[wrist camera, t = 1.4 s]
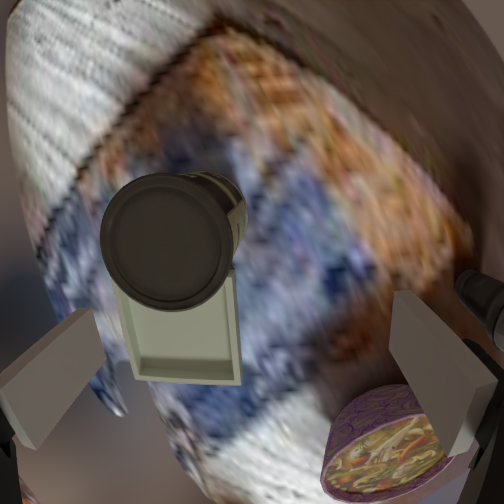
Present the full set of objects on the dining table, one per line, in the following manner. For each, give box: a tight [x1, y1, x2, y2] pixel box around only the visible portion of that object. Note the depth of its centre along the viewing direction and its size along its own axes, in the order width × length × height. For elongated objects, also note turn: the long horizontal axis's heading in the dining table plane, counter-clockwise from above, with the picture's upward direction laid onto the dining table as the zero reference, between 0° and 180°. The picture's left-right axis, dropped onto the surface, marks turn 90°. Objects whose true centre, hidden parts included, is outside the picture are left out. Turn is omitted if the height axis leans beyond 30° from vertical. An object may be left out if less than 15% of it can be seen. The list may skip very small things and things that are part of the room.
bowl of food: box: [320, 384, 456, 504], centre depth 36 cm, size 20×20×12 cm
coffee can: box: [100, 171, 248, 312], centre depth 29 cm, size 10×10×14 cm
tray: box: [111, 269, 243, 385], centre depth 38 cm, size 14×14×3 cm
